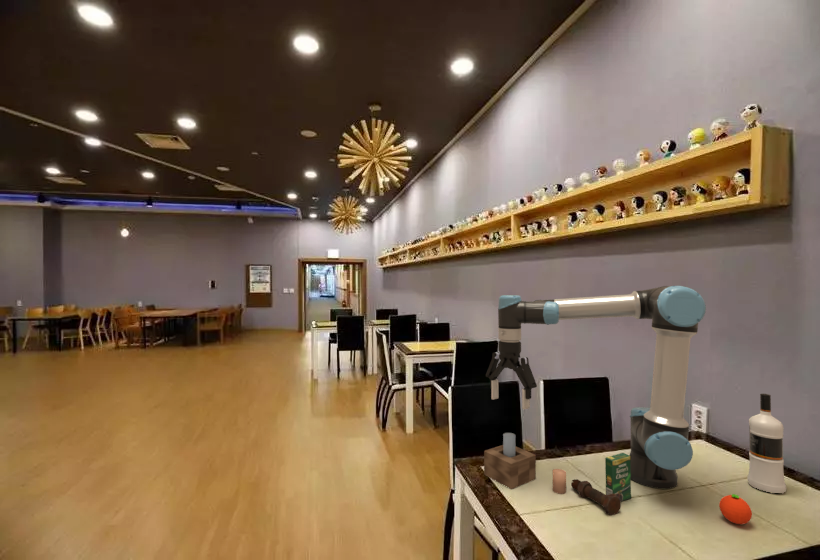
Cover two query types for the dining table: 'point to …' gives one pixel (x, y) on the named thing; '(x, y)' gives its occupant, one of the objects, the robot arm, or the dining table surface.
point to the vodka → (766, 450)
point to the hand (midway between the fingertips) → (509, 403)
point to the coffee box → (618, 476)
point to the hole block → (510, 466)
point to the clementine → (735, 509)
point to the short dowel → (559, 481)
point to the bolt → (597, 496)
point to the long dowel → (509, 444)
